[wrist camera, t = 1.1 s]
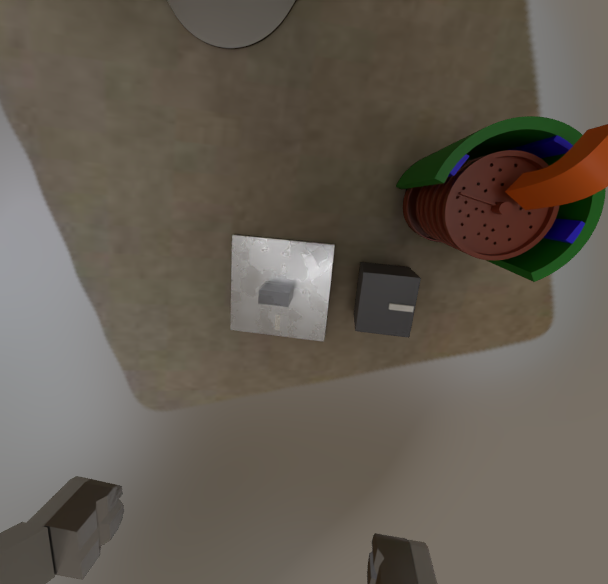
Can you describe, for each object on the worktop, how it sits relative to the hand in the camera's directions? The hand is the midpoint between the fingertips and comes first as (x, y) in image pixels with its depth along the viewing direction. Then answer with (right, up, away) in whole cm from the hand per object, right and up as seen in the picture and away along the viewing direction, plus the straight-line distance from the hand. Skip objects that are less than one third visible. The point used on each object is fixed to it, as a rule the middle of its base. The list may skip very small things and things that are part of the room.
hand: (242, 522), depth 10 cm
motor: (+17, +17, +24) cm, 34 cm away
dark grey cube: (+11, +7, +28) cm, 31 cm away
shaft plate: (-1, +8, +29) cm, 30 cm away
